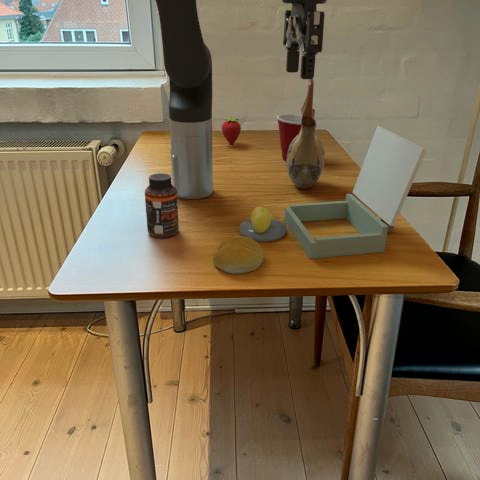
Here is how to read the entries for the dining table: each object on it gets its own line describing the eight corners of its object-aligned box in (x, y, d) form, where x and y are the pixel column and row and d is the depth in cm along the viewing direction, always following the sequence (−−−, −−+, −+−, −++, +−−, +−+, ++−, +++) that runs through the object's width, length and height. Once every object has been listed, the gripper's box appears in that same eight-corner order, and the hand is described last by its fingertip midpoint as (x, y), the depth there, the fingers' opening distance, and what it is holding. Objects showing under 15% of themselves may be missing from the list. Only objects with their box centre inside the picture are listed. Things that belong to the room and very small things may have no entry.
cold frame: (309, 258, 80) (312, 232, 78) (283, 220, 94) (285, 198, 92) (383, 251, 83) (388, 226, 80) (347, 215, 96) (350, 193, 94)
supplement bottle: (165, 242, 85) (161, 184, 80) (141, 234, 88) (135, 177, 83) (185, 230, 89) (182, 174, 84) (161, 223, 92) (157, 169, 87)
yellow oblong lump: (248, 236, 86) (248, 217, 84) (252, 218, 93) (252, 200, 91) (270, 237, 85) (271, 218, 84) (273, 219, 92) (274, 201, 91)
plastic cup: (314, 165, 126) (318, 121, 121) (275, 164, 127) (277, 121, 121) (310, 154, 136) (313, 113, 131) (273, 153, 136) (275, 112, 131)
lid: (422, 148, 75) (426, 149, 75) (377, 125, 89) (381, 126, 89) (390, 225, 80) (393, 226, 80) (352, 192, 94) (355, 193, 94)
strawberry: (221, 148, 140) (221, 115, 135) (222, 142, 147) (221, 110, 142) (240, 148, 140) (241, 115, 136) (240, 142, 147) (240, 110, 142)
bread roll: (208, 272, 76) (208, 251, 74) (222, 248, 84) (222, 228, 82) (257, 279, 74) (258, 257, 72) (267, 253, 82) (268, 233, 80)
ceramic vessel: (323, 199, 105) (334, 84, 93) (283, 196, 106) (290, 83, 94) (320, 175, 119) (330, 74, 108) (286, 173, 120) (292, 73, 109)
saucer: (244, 243, 85) (244, 239, 84) (235, 223, 93) (235, 219, 92) (291, 239, 86) (291, 235, 86) (278, 220, 94) (278, 216, 94)
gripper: (272, -28, 80) (268, 70, 88) (297, -33, 68) (290, 82, 75) (313, -27, 82) (306, 70, 89) (345, -32, 69) (333, 81, 77)
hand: (299, 75), depth 82 cm, fingers open, 8 cm apart
